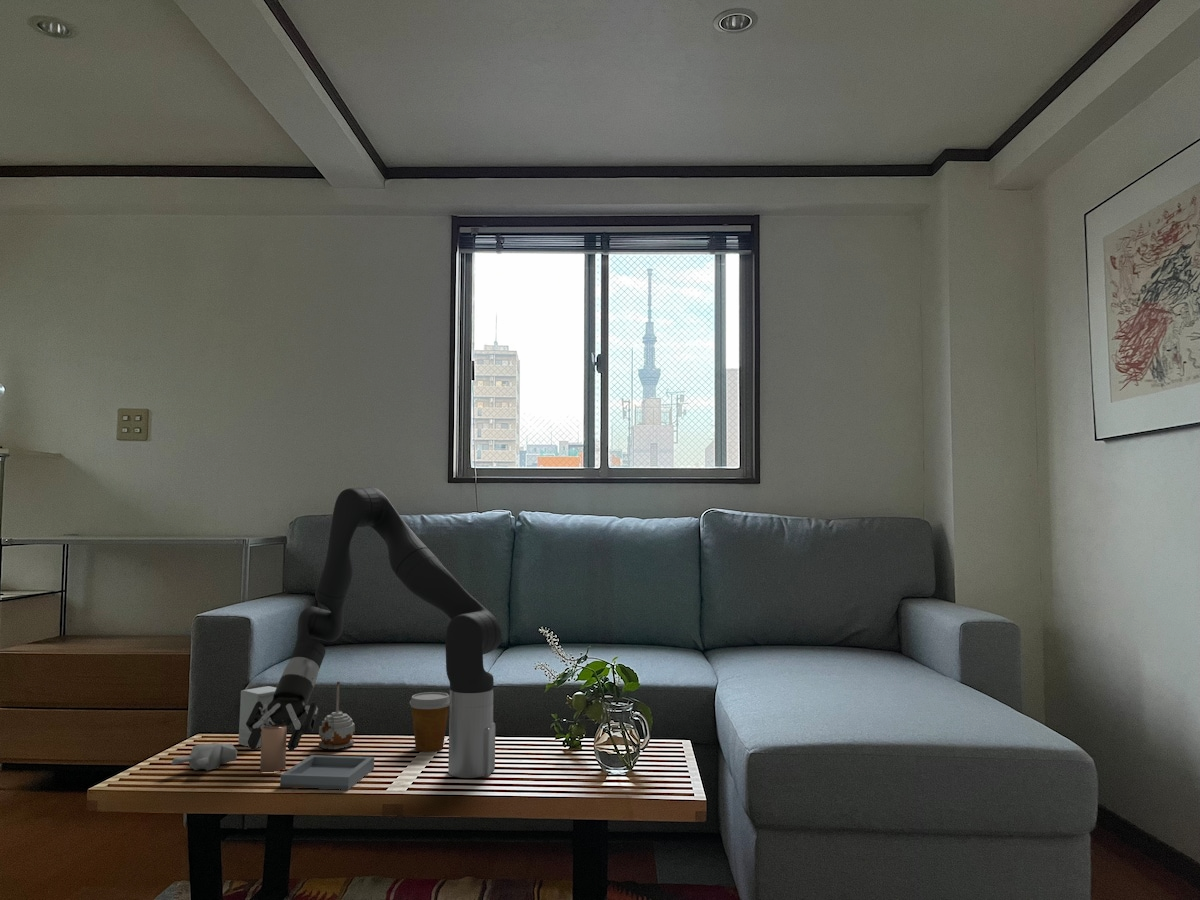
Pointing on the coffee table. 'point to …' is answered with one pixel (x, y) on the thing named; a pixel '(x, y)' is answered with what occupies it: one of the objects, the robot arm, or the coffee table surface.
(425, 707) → the disposable coffee cup
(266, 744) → the tumbler
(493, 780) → the coffee table surface
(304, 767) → the tray
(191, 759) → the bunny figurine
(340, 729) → the caramel apple
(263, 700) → the supplement box
